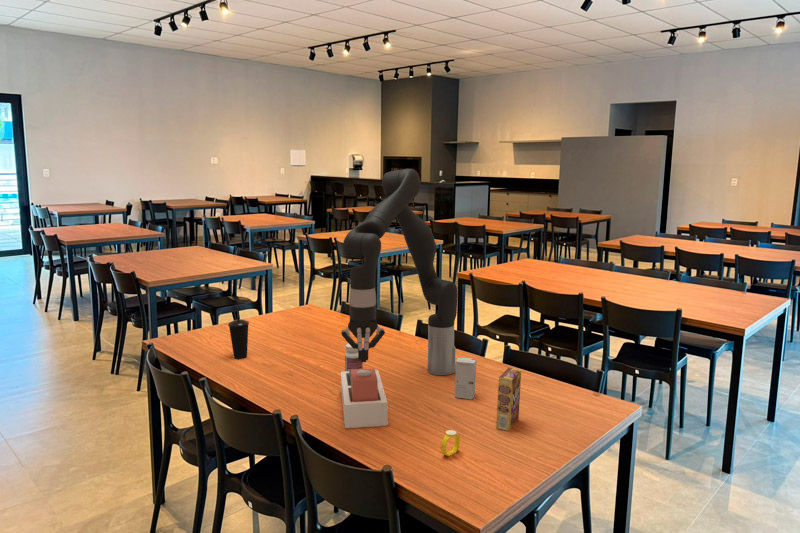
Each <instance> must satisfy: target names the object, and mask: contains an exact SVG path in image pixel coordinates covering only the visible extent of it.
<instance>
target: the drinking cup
mask: <svg viewBox="0 0 800 533" xmlns="http://www.w3.org/2000/svg"><path fill="white" fill-rule="evenodd" d="M239 307H240V306H236V313H237V314H236V317H237V319H233V320H231V321H229V322H228V324H227V325H228V327H229V334H230V342H231V346H232V347H231V348H232V354H233V359H235V360H242V359H243V360H244V359H246V358H248V341H249V340H248V338H249V324H250V322H249V321H248V320H245V319H241V318H240V308H239Z"/></svg>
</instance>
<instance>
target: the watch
mask: <svg viewBox="0 0 800 533" xmlns="http://www.w3.org/2000/svg"><path fill="white" fill-rule="evenodd" d="M444 433H445V435H444V437H443V438H442V441H441V444H440V445H441V446H440V449H441V453H442V454H443V455H444V456H446V457H448V456H449V457H450V455H451V456H453V455H454V454H456V453H457V452H458V450H459V448H460V444H461V438H460V435H459V434H458V433H457V431H455V430H452V429H448V430H446V431H445V432H444ZM450 438H455V439H454V440H455V441H454V445H453V447H452V449H451V450H449V451H447V445H448V441H449V439H450Z"/></svg>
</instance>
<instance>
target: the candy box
mask: <svg viewBox="0 0 800 533" xmlns="http://www.w3.org/2000/svg"><path fill="white" fill-rule="evenodd" d="M521 383H522V369H520V368H514V367H507V369H506V370H505V371H504V372H502V373H501V375H500V376H498V386H497V388H498V389H497V401H496V403H497V405H496V421H495V422H496V423H495V424H496V425H495V428H496V429H499V430H503V431H506V432H510V431H511V429H512V428H513V426H515V424H516V423H517V422H518V420H519V419H520V418H519V417H520V403H521V402H520V401H521V400H520V399H521V385H522V384H521Z"/></svg>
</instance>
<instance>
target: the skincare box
mask: <svg viewBox="0 0 800 533" xmlns="http://www.w3.org/2000/svg"><path fill="white" fill-rule="evenodd" d="M454 375H455V379H454V380H455V381H454V398H458V399H459V398H460V399H466V400H473V399H474V398H475V395H476V381H477V380H476V377H477V358H470V357H458V358H457V359H456V360H455V373H454Z"/></svg>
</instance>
